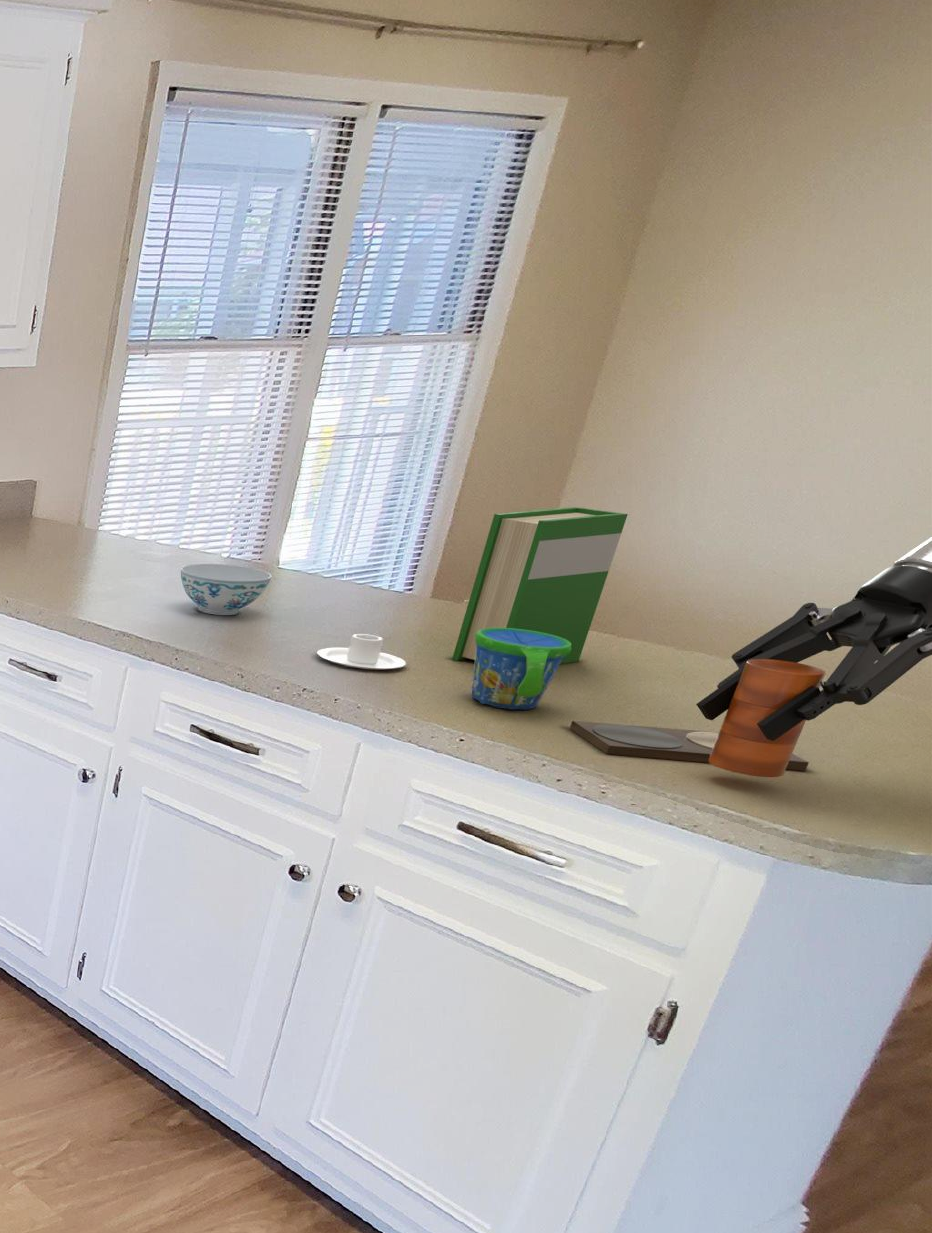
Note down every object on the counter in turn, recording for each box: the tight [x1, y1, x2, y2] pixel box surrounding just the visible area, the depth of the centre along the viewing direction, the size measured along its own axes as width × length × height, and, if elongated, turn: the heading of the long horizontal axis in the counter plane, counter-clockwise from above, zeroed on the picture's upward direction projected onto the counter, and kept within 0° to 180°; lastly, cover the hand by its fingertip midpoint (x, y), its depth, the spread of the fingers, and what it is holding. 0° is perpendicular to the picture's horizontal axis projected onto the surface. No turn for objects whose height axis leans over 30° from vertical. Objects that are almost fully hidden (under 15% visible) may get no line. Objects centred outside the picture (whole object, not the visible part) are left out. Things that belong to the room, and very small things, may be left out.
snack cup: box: [471, 628, 571, 711], centre depth 162 cm, size 16×10×10 cm
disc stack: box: [708, 659, 826, 778], centre depth 133 cm, size 6×6×13 cm
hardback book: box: [451, 506, 629, 664], centre depth 179 cm, size 18×7×24 cm, turn 106°
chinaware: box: [180, 563, 272, 616], centre depth 215 cm, size 15×15×8 cm
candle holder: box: [316, 633, 407, 670], centre depth 183 cm, size 12×12×4 cm
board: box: [569, 720, 809, 772], centre depth 146 cm, size 10×20×1 cm, turn 71°
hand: (734, 722), depth 133 cm, fingers closed on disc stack, 6 cm apart
